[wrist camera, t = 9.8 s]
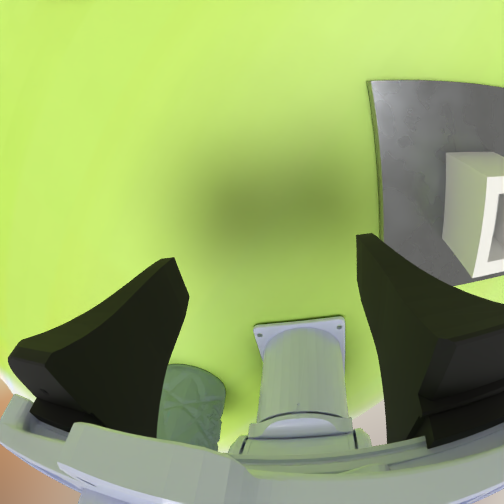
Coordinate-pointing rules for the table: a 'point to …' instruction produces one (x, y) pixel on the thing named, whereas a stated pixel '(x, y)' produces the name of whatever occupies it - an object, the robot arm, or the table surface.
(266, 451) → the robot arm
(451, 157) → the duct sleeve
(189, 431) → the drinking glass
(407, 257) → the duct plate
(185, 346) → the table surface
